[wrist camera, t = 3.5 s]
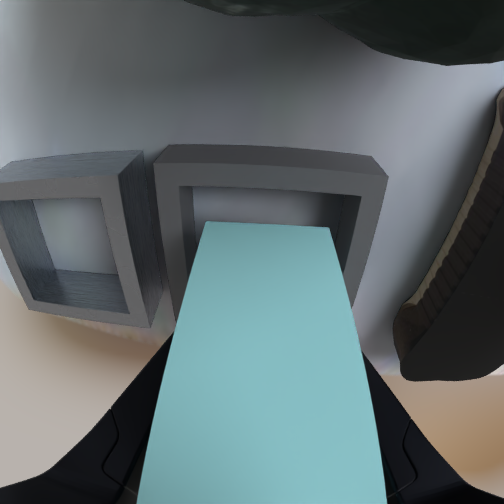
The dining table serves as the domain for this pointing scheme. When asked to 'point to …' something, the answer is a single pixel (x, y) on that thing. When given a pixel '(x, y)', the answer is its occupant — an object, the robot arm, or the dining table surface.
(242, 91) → the dining table surface
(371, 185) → the grey square frame
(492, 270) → the black sponge
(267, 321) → the plug
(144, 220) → the port block
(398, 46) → the squash
